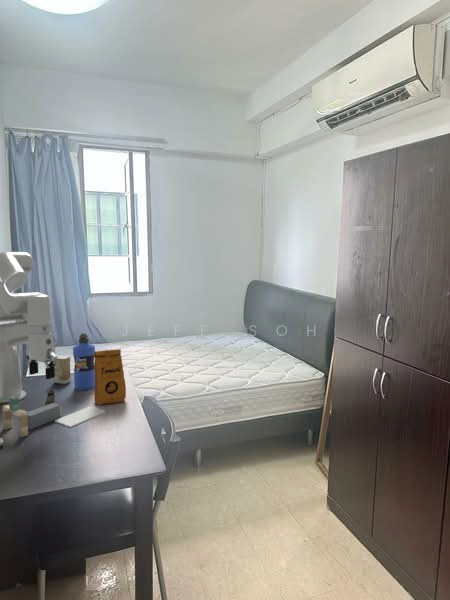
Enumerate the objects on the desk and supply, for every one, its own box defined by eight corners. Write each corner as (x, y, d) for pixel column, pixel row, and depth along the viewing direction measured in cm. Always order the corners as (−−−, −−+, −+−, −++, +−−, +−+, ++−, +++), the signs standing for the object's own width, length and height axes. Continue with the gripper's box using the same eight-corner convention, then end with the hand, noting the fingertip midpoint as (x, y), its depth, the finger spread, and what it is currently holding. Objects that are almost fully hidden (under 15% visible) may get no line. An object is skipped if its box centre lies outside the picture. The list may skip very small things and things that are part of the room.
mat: (54, 421, 148) (54, 420, 148) (90, 407, 162) (90, 406, 162) (70, 427, 143) (70, 426, 143) (105, 412, 157) (105, 411, 157)
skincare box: (53, 383, 190) (52, 357, 188) (58, 380, 194) (57, 355, 192) (66, 384, 189) (65, 358, 187) (71, 381, 193) (70, 356, 191)
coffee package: (127, 403, 166) (126, 351, 163) (95, 407, 162) (93, 354, 159) (124, 395, 175) (123, 345, 172) (93, 399, 171) (92, 348, 168)
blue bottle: (80, 383, 189) (78, 331, 186) (99, 384, 188) (98, 332, 185) (70, 390, 180) (68, 335, 177) (90, 391, 179) (88, 336, 176)
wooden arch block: (3, 428, 142) (1, 395, 140) (9, 426, 143) (7, 393, 142) (22, 437, 136) (20, 402, 134) (28, 434, 137) (26, 400, 136)
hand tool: (53, 415, 154) (53, 403, 154) (42, 416, 153) (41, 404, 153) (59, 397, 172) (59, 387, 172) (49, 398, 171) (48, 388, 171)
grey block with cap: (24, 427, 144) (23, 413, 143) (56, 414, 155) (55, 401, 154) (30, 429, 142) (30, 416, 141) (63, 416, 153) (62, 404, 152)
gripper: (64, 330, 143) (66, 377, 145) (35, 325, 152) (37, 369, 154) (44, 333, 136) (47, 383, 138) (15, 328, 145) (18, 374, 147)
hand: (42, 375), depth 146 cm, fingers open, 9 cm apart
